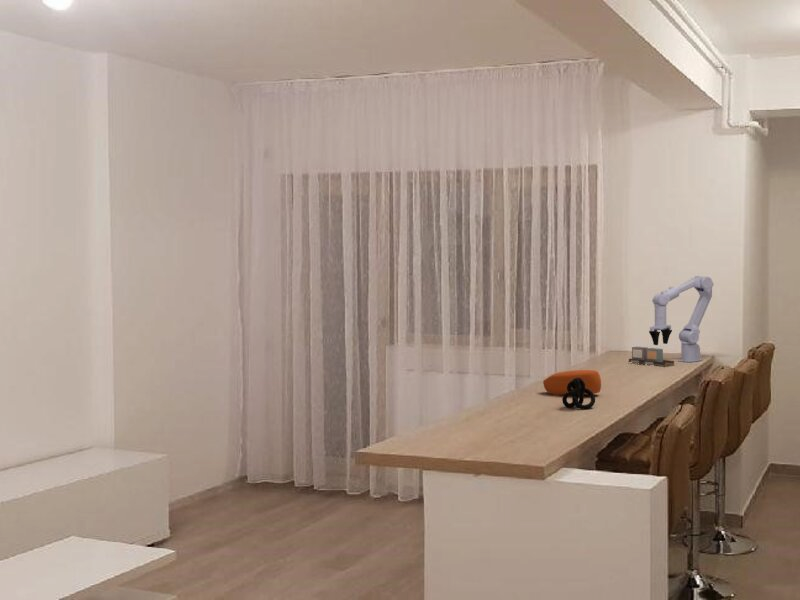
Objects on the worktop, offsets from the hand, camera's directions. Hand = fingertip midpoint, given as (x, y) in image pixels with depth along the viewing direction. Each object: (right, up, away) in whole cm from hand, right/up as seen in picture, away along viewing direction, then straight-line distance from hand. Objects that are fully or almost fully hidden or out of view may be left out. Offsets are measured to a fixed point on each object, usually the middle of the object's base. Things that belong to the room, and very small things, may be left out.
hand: (660, 344), depth 548 cm
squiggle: (-62, -20, -125) cm, 141 cm away
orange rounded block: (-60, -18, -93) cm, 112 cm away
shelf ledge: (-6, -10, -4) cm, 12 cm away
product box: (-4, -9, -6) cm, 11 cm away
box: (-10, -9, +1) cm, 13 cm away
